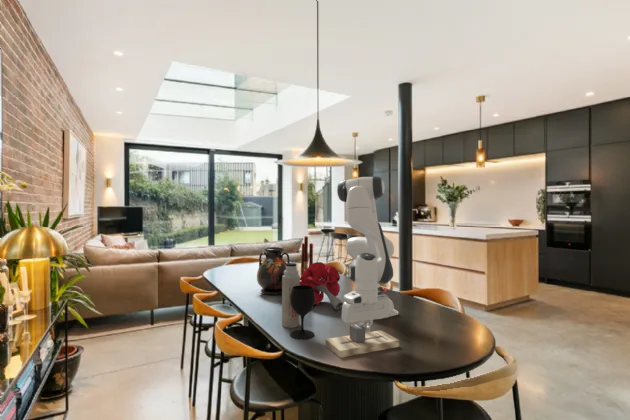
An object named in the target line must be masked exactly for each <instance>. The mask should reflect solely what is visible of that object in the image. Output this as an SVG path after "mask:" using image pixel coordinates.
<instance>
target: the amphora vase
mask: <svg viewBox="0 0 630 420" xmlns="http://www.w3.org/2000/svg"><path fill="white" fill-rule="evenodd" d="M263 251H264V252H263ZM263 251H262V252H260V254H259V259H258V270H257V274H256V282H257V284H258V285H259V286H260V288H261V289H260V293H261V294H262V295H264V296H265V295H266V296H282V276H283V275H284V271H285V270H286V264H287V263H291V262H290V255H289V253H288V252H284V251H285V248H283V247H279V246H277V247H276V246H273V247H272V246H271V247H264V249H263ZM263 255H265V258H264V260H263V261H262V257H263ZM284 256H286V258H287V261H286V260H285V259H284V258H283V257H284Z"/></svg>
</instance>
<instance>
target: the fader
mask: <svg viewBox="0 0 630 420" xmlns="http://www.w3.org/2000/svg"><path fill="white" fill-rule="evenodd" d="M365 333H366V332H365V327H363V326H361V325H360V323H356V324H349V335H350V339H352V340H353V341H355V342H356V343H357V342H363V341H365Z"/></svg>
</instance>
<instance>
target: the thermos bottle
mask: <svg viewBox="0 0 630 420" xmlns="http://www.w3.org/2000/svg"><path fill="white" fill-rule="evenodd" d="M286 263H287V262H286ZM299 273H300V272H299V270H297V263H296V262H290V263H287V264H286V270H285V271H284V275H283V276H282V295H281V298H282V299H281V301H282V302H281V325H282V327H285V328H297V327H299V326H300V315H299V314H297V313H296V312H295V311H294V310H293V308H292V306H291V302H290V295H291V291H292V288H293V287H294V286H299V285H300V281H301V280H300V277H301V276H300V275H299Z"/></svg>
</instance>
